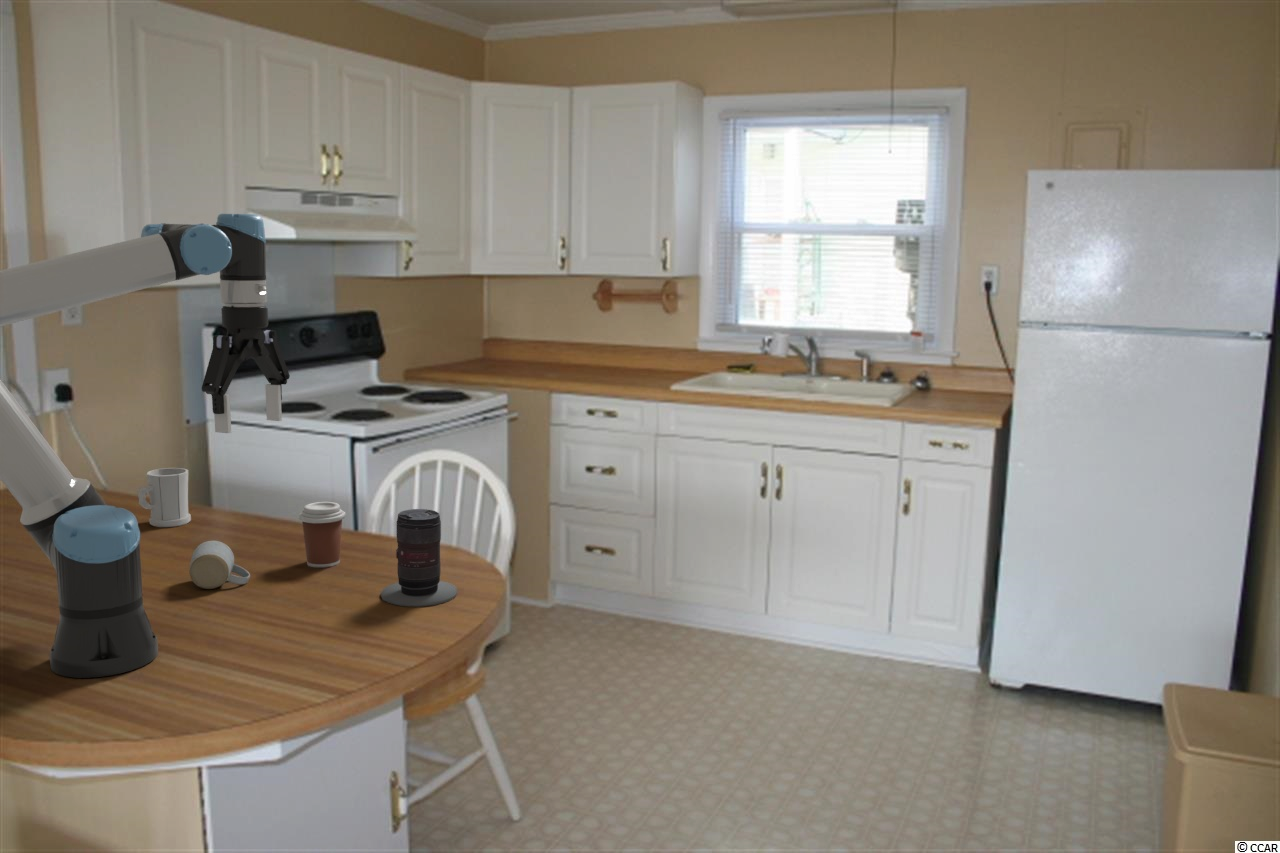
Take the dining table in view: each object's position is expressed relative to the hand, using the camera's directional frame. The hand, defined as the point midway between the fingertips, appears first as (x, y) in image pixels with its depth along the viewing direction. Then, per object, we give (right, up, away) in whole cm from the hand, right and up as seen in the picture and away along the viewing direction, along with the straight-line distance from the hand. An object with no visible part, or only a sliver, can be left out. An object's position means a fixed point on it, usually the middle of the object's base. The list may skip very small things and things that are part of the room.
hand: (249, 426), depth 191 cm
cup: (-40, -22, +58) cm, 74 cm away
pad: (+27, -32, +13) cm, 44 cm away
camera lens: (+27, -31, +13) cm, 43 cm away
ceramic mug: (-12, -30, +17) cm, 37 cm away
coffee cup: (+4, -28, +31) cm, 42 cm away
